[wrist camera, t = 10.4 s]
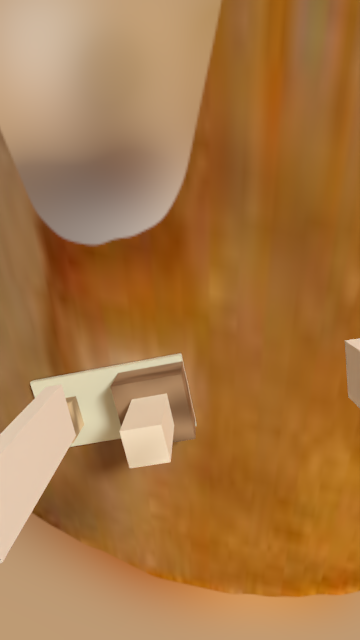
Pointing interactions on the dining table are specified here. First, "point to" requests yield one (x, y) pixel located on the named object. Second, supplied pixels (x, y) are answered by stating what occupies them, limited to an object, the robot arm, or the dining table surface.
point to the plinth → (158, 383)
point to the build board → (98, 397)
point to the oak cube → (75, 415)
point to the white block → (148, 431)
